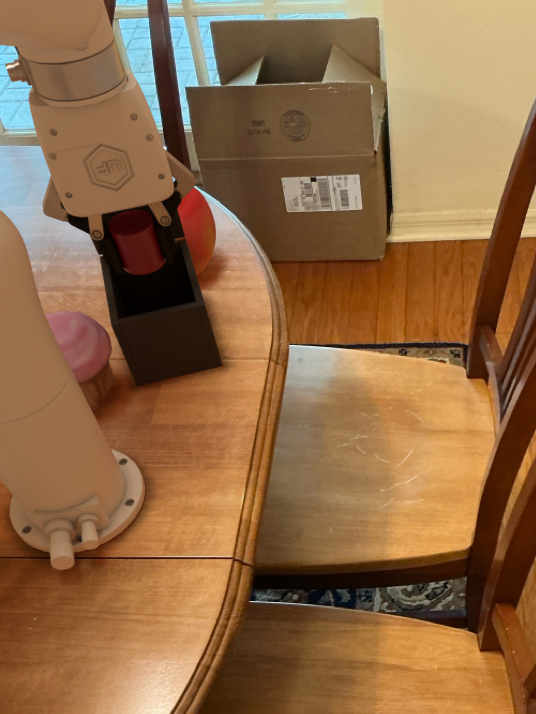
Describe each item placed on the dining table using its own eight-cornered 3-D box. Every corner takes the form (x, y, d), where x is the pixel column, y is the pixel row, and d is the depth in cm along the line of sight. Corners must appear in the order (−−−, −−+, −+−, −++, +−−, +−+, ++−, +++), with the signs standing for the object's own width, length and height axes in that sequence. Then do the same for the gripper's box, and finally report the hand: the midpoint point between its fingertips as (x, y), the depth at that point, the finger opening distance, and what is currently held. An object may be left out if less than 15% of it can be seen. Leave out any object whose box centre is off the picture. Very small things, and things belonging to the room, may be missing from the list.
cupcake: (103, 432, 80) (67, 358, 72) (31, 417, 82) (-13, 343, 74) (143, 375, 85) (112, 300, 77) (74, 363, 87) (37, 288, 79)
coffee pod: (169, 269, 77) (156, 229, 74) (125, 279, 77) (110, 239, 73) (162, 245, 80) (150, 205, 76) (120, 254, 79) (105, 215, 76)
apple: (185, 239, 101) (164, 164, 92) (241, 261, 97) (224, 185, 89) (133, 278, 96) (106, 203, 88) (190, 302, 93) (167, 227, 85)
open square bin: (222, 365, 86) (205, 304, 79) (136, 386, 84) (111, 325, 78) (203, 299, 93) (185, 238, 86) (123, 317, 91) (99, 256, 85)
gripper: (-30, 107, 60) (62, 302, 75) (184, 69, 63) (232, 264, 78) (-31, 67, 64) (57, 258, 79) (170, 32, 67) (219, 224, 82)
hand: (143, 259), depth 78 cm, fingers closed on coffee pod, 4 cm apart
